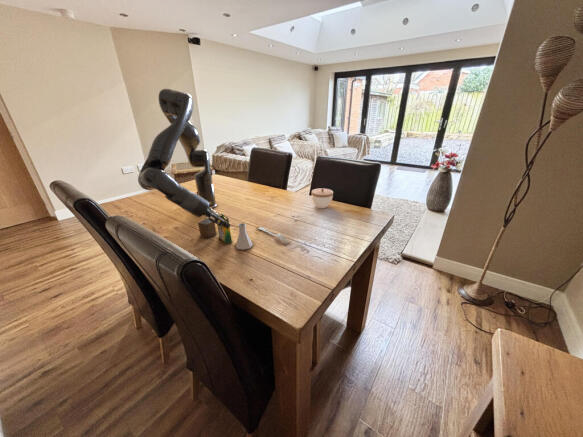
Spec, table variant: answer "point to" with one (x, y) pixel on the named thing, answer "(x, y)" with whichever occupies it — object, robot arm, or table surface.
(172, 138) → the robot arm
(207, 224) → the walnut block
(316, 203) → the lidded bowl
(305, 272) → the table surface
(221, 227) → the crayon box
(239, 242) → the flask
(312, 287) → the table surface
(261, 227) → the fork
